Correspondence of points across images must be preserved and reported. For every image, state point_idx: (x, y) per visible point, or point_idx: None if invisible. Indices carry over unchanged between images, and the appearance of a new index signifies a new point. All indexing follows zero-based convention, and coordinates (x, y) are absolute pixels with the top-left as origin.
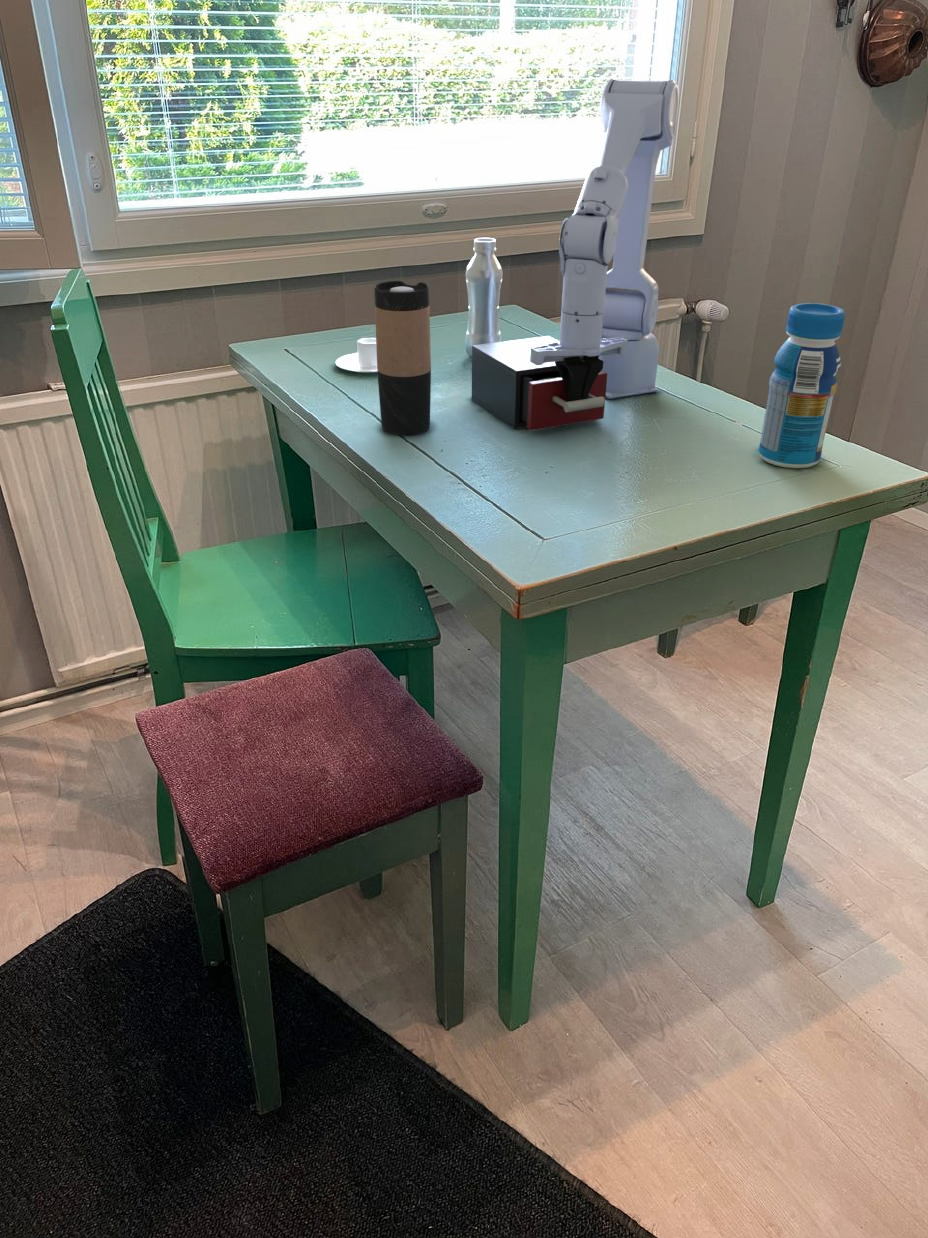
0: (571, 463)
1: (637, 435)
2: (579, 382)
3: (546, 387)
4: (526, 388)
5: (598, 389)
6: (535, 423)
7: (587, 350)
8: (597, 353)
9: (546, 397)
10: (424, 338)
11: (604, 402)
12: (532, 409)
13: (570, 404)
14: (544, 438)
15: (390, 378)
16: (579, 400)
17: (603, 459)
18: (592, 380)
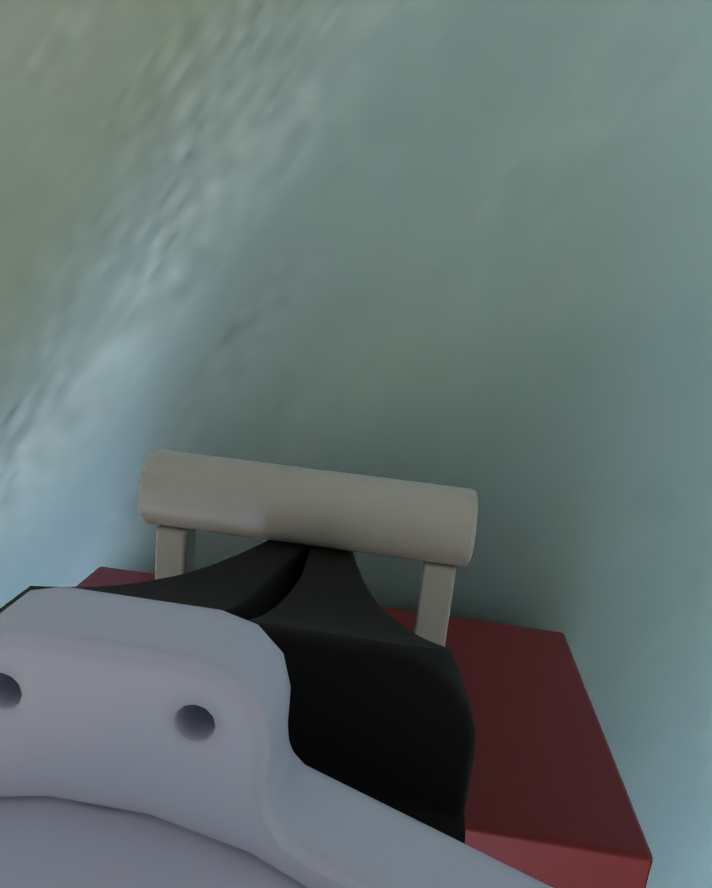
0: (629, 175)
1: (44, 334)
2: (334, 604)
3: (499, 795)
4: None
5: None
6: (539, 647)
7: (234, 775)
8: (83, 605)
9: (486, 736)
10: None
11: (158, 450)
12: (587, 705)
13: (453, 508)
14: (505, 558)
15: None
16: (350, 525)
17: (426, 130)
18: (186, 580)
